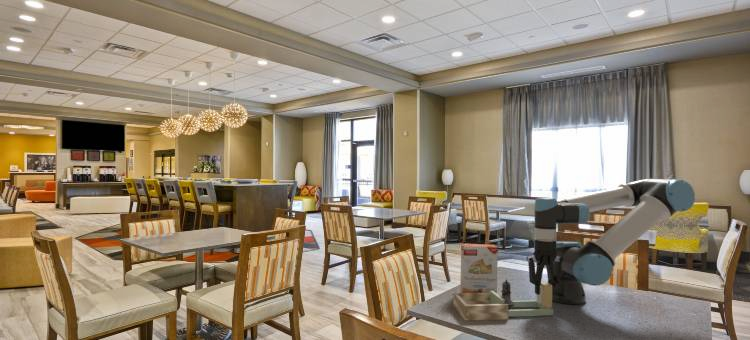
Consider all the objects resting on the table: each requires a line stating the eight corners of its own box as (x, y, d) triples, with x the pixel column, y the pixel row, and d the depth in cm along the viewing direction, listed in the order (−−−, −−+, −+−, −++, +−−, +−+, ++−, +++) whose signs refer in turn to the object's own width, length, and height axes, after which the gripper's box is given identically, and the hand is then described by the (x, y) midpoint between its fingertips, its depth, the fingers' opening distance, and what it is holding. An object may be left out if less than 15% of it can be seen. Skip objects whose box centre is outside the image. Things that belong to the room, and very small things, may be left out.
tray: (540, 305, 151) (541, 279, 150) (555, 315, 141) (556, 287, 141) (489, 306, 148) (490, 280, 148) (501, 316, 138) (501, 288, 138)
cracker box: (462, 297, 160) (463, 246, 160) (460, 292, 166) (460, 243, 166) (497, 298, 159) (498, 246, 159) (493, 293, 165) (494, 243, 165)
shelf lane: (492, 305, 150) (492, 292, 150) (508, 319, 137) (508, 304, 137) (453, 306, 149) (453, 293, 149) (465, 320, 135) (465, 306, 135)
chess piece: (497, 313, 142) (498, 280, 142) (497, 308, 148) (497, 276, 148) (514, 315, 140) (515, 282, 140) (513, 310, 146) (514, 277, 146)
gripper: (559, 237, 150) (559, 299, 150) (519, 237, 148) (518, 300, 148) (571, 241, 142) (570, 305, 143) (529, 241, 141) (528, 307, 141)
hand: (544, 302), depth 145 cm, fingers closed on tray, 3 cm apart
